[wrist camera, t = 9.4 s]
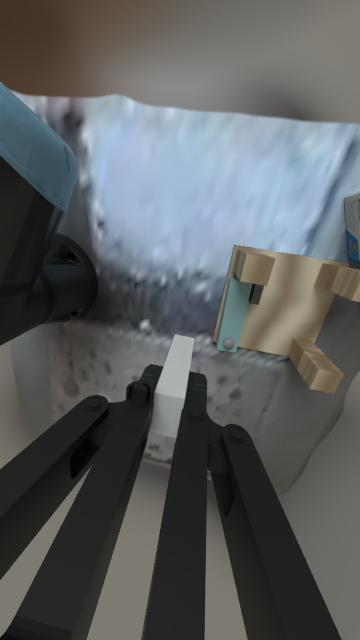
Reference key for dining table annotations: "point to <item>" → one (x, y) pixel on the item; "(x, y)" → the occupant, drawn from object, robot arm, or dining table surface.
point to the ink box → (353, 225)
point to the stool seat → (291, 307)
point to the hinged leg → (233, 314)
